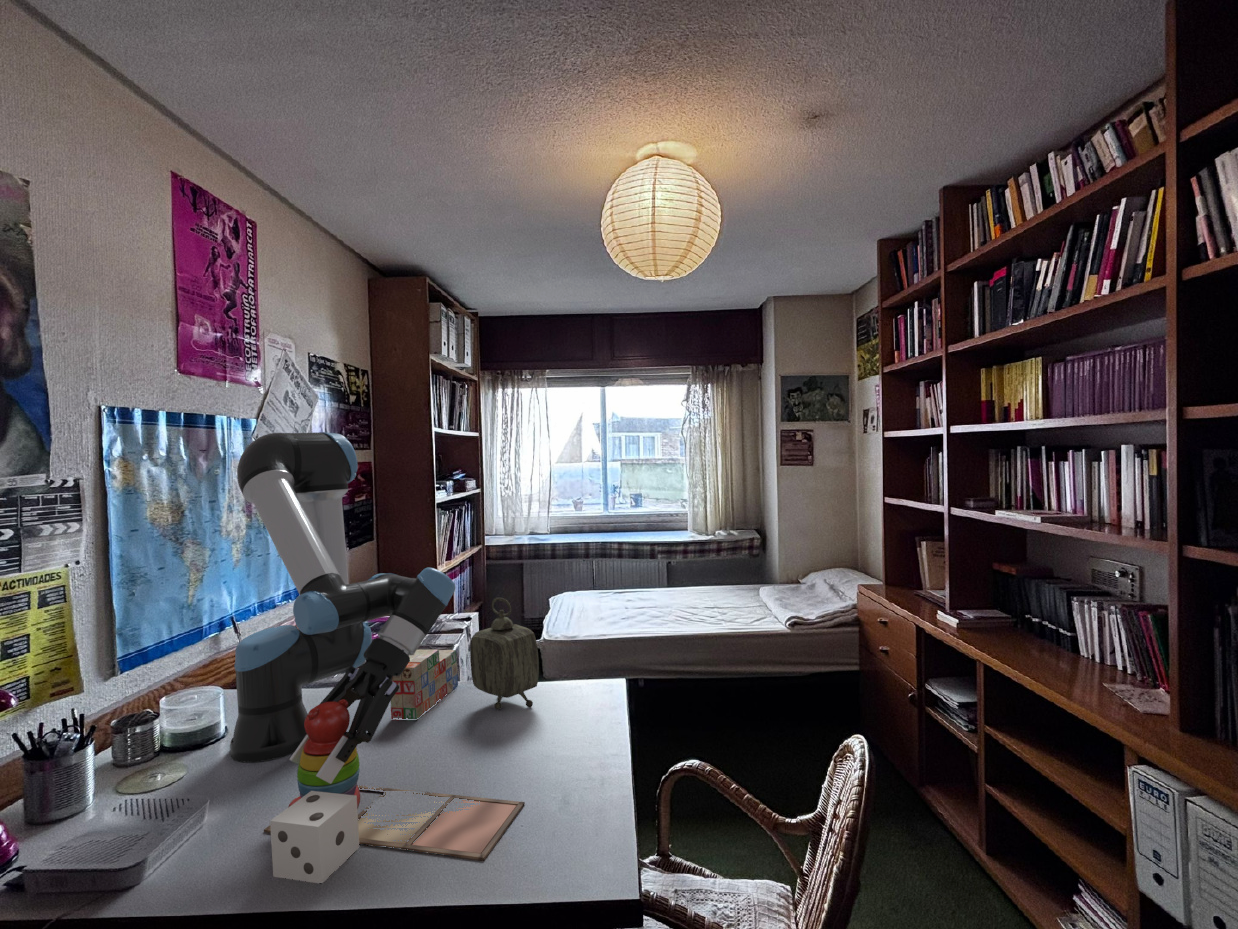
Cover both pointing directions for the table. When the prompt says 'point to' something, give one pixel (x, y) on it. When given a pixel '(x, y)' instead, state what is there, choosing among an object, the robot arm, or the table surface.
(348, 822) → the die
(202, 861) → the table surface
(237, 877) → the table surface
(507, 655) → the tabletop clock
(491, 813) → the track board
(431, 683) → the stack of blocks
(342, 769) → the stacking bear
